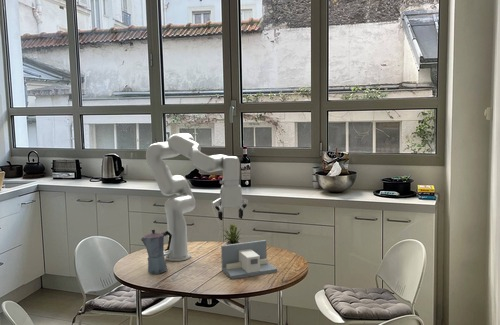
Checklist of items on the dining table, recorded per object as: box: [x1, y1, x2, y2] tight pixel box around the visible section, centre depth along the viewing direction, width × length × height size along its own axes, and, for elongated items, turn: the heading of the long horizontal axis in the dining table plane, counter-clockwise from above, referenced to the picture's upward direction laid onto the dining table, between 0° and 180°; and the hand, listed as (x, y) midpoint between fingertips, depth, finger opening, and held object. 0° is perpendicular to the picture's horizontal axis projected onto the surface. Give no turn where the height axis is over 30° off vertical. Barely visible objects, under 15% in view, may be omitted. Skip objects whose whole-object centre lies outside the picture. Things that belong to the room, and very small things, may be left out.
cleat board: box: [220, 239, 278, 280], centre depth 217 cm, size 22×14×12 cm, turn 110°
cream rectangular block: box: [239, 249, 260, 273], centre depth 216 cm, size 6×13×7 cm, turn 20°
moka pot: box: [140, 229, 172, 275], centre depth 220 cm, size 10×15×20 cm, turn 130°
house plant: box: [220, 222, 244, 245], centre depth 244 cm, size 14×14×16 cm
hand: (230, 218), depth 221 cm, fingers open, 9 cm apart
